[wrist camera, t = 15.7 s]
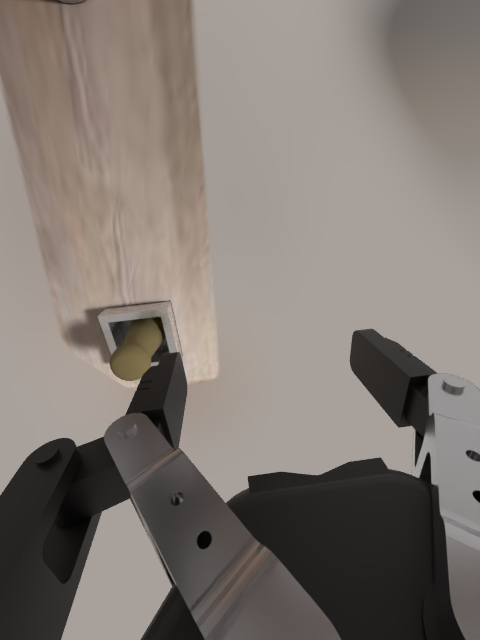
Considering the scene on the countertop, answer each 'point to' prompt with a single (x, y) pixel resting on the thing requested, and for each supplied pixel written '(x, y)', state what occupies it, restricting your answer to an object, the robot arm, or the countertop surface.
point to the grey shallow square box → (121, 317)
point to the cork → (137, 348)
